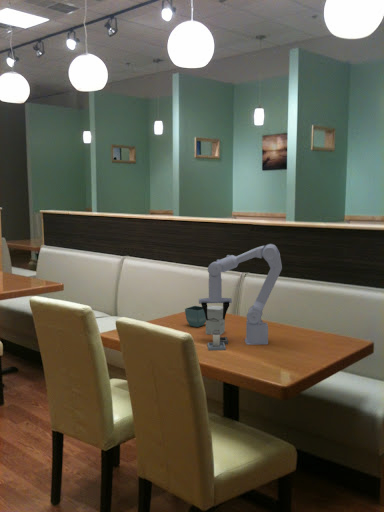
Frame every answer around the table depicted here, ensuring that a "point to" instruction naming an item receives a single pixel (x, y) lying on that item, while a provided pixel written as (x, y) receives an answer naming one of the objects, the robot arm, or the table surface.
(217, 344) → the fuse
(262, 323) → the robot arm
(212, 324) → the supplement box
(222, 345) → the tray
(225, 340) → the socket
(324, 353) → the table surface
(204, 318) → the flower pot
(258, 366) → the table surface
